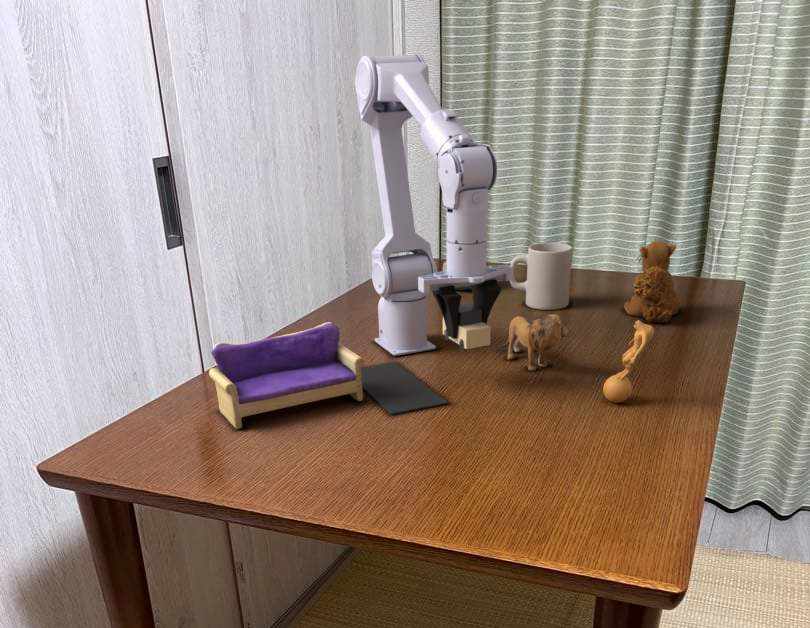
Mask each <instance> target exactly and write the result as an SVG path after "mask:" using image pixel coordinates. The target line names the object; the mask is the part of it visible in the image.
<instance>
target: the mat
mask: <svg viewBox="0 0 810 628" xmlns="http://www.w3.org/2000/svg"><path fill="white" fill-rule="evenodd" d="M361 380H362V391H363V390H364V392H365V393H367V394H368V395H369V396H370V397H371V398H372V399H373V400H374V401H375V402H376V403H378V404H379V406H380V407H382V408H383V409H384V410H385V411H386V412H387V413H388V414H389V415H390V416H395V415H400V414H405V413H410V412H415V411H419V410H426V409H430V408H435V407H441V406H446V405H448V404H449V401H447V400H445V399H444V398H443V397H441V396H440V395H439V394H438V393H436V392H435V391H434V390H433V389H432V388H430V387H428V386H427V385H426V384H425V383H423V382H422V380H420V379H418V378H417V377H416V376H414V375H413V374H412V373H411V372H409V371H408V370H406V369H405V368H404V367H402V366H401V364H399V363H398V362H397V361H393V362H388V363H387V362H386V363H381V364H376V365H370V366H363V367H362V368H361Z"/></svg>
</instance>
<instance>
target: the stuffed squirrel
mask: <svg viewBox="0 0 810 628" xmlns="http://www.w3.org/2000/svg"><path fill="white" fill-rule="evenodd" d="M676 250H677V245H676V244H674V243H671V244H669V245H668V243H666V242H665V241H661V240H659V241H658V240H656V241H652V242H650V243H649V244H647V245H646V246H639V248H638V251H639V253H640V254H639V256H637V258H635V261H637V263H638V264H639V263H640V262H641V266H642V272H641V273H640V274H637V275H636V276H635V278H634V281H633V282H634V283H633V284H632V287H633V290H634V291H633V292H632V293H633V294H634V295H632V297H631V300H630V301H626V302H625V303H624V305H623V307H624V310H625V312H626V313H627V314H628V315H629V316H633V317H637V318H643V319H645V320H646V322H649V323H668V322H669V320H672V316H674V315H676V314H678V311H679V308H680V302H681V301H680V297H679V295H678V294H677V292H676V291H675V282H674V280H673V276H672V274H671V272H669V267H670V264H671V260H670V259H671V256H672V255H673V254H674V252H675V251H676Z"/></svg>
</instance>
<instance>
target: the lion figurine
mask: <svg viewBox="0 0 810 628" xmlns="http://www.w3.org/2000/svg"><path fill="white" fill-rule="evenodd" d="M568 332H569V327H568V326H567V325H564V323H563V322H562V320H561V319H560V315H559V314H555V313H554V314H547V315H545V316H541V317H539V318H538V319H534V320H532V322H531V323H530V322H529V321H528V319H527V318H525V317H524V316H517V315H516V316H515V317H514V318H512V319H511V321H510V323H509V327H508V339H507V340H506V341H505V343H502V344H501V345H499V346H498V347H499V348H500V349H505V348H507V356H506V357H507V360H509V361H512V360H514V359H515V355H514V353H513V351H514V352H515V353H520V352H521V349H522V348H520V347H519V345H520V344H521V345H522V346H523V347H525V348H527V356H528V357H527V358H528V366H527V367H528V368H527V369H528V371H529V372H535V371H537V367H536V363H535V358H536V353H538V359H537V362H538V363H537V364H538V366H540V367H542V368H546V367H547V366H548V363H547V362H546V361H545V356H546V354H547V353H549V352H551V351H552V348H555V347H556V346H557V345H558V344H559V343H560V342H561V340H565V337H566V335H568Z"/></svg>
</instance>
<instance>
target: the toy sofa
mask: <svg viewBox="0 0 810 628" xmlns="http://www.w3.org/2000/svg"><path fill="white" fill-rule="evenodd" d="M340 337H341V333H340V327H338V326H337V325H336V324H335V323H333V322H330V321H326V322H323V323H321V324H319V325H317V326H315V327H312V328H308V329H305V330H302V331H296V332H293V333H287V334H283V335H278V336H273V337H267V338H262V339H258V340H254V341H250V342H243V343H232V342H231V343H230V342H226V341H225V342H224V341H223V342H221V341H220V342H217V343H215V344H214V345H213V349H212V350H211V351H210V354H211V355H212V357H213V359H214V361H215V364H216V365H217V368H216V367H211V368H209V372H208V376H209V377H210V379H212V380H213V381H214V384H215V385H214V386H215V389H216V394H217V401H218V408H219V412H220V413H221V414H222V415H223V416H224V418H225V419H226V420H227V421H228V422H229V423H230V424H231V425H232V427H234V428H235V429H236V430H239V429H242V428H243V423H242V418H244V417H248V416H249V417H250V416H253V415H257V414H262V413H267V412H272V411H275V410H279V409H284V408H289V407H290V408H291V407H294V406H298V405H299V406H300V405H303V404H308V403H313V402H318V401H321V400H327V399H330V398H331V399H332V398H335V397H336V398H337V397H341V396H345V395H349V396H350V397H352V398H353V399H354V400H356V401H357V402H361V401H363V400H364V392H363V389H362V380H361V368H363V367H365V366H364V365H365V359H364V358H362V357H361V356H360V355H358V354H357V353H355V352H354V351H352V350H351V349H349V348H347V347H346V346H344V345H343V344H342V343H340V342H339V341H340Z"/></svg>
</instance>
